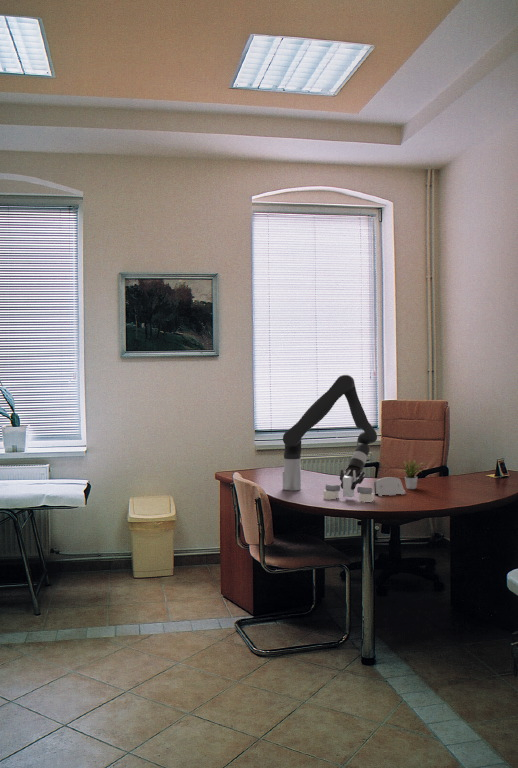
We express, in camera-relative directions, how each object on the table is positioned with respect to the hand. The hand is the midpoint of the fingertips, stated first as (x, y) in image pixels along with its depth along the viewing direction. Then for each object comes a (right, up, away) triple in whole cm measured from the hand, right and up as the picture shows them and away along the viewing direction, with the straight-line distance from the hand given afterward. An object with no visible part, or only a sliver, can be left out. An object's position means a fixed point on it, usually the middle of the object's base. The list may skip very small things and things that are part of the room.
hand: (347, 488), depth 341 cm
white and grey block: (+10, -6, -2) cm, 12 cm away
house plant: (+40, -5, +30) cm, 50 cm away
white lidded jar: (-8, -6, +6) cm, 11 cm away
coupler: (+1, -4, +2) cm, 5 cm away
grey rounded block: (+24, -6, +16) cm, 30 cm away
